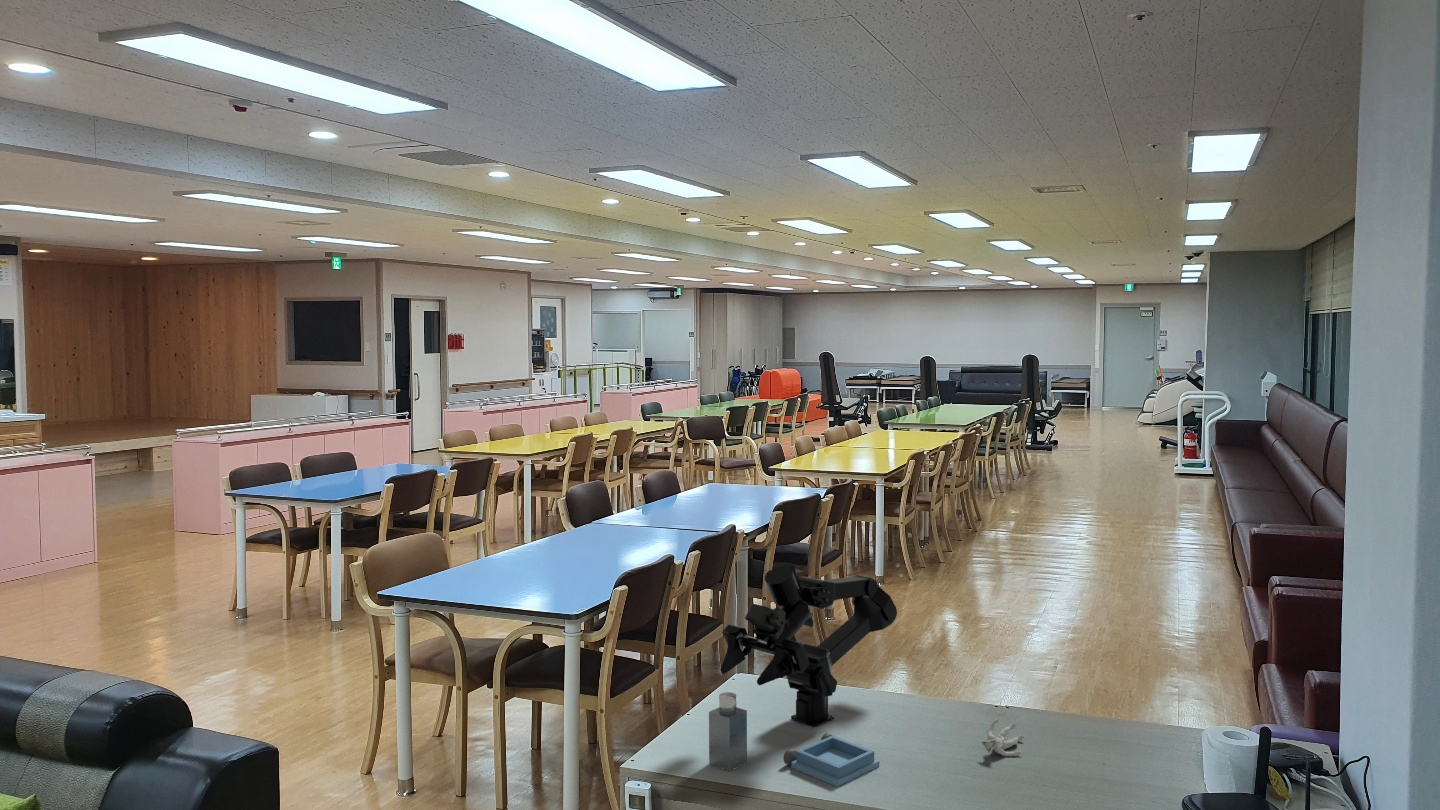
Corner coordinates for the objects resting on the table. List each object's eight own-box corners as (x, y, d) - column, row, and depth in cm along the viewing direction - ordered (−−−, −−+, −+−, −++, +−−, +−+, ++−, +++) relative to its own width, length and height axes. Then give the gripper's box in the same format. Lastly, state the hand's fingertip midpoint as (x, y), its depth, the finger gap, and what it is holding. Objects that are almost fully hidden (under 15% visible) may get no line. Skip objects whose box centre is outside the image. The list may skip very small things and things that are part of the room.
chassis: (830, 745, 202) (830, 730, 201) (881, 765, 193) (881, 749, 192) (783, 766, 192) (783, 750, 192) (834, 787, 184) (834, 771, 183)
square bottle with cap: (726, 755, 197) (726, 688, 196) (747, 762, 194) (746, 694, 193) (709, 764, 194) (708, 696, 193) (729, 771, 190) (729, 702, 189)
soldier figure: (1034, 750, 201) (1017, 752, 191) (1014, 764, 203) (996, 767, 193) (1010, 715, 205) (991, 715, 195) (990, 728, 206) (971, 730, 197)
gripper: (737, 584, 209) (689, 635, 200) (811, 600, 197) (763, 656, 187) (754, 626, 214) (709, 678, 204) (827, 645, 201) (782, 701, 192)
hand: (739, 677), depth 197 cm, fingers open, 9 cm apart
